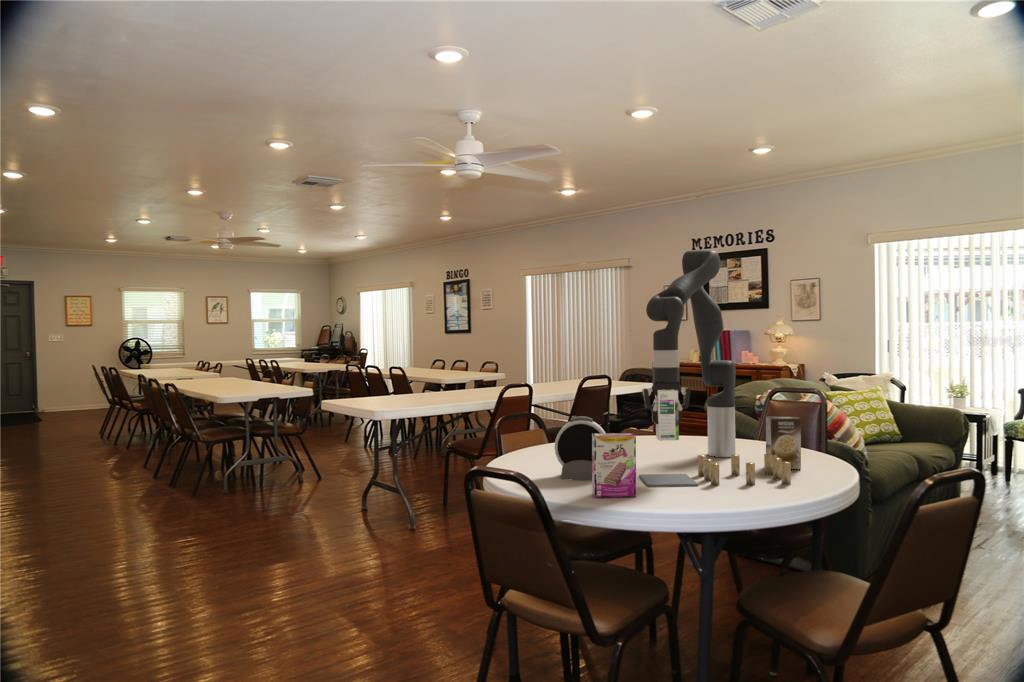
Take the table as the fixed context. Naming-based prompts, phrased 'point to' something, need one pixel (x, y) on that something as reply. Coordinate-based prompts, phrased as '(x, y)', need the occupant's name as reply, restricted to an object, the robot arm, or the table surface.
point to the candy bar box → (613, 465)
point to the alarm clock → (576, 447)
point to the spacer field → (770, 467)
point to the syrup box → (667, 415)
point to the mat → (668, 480)
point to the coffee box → (784, 439)
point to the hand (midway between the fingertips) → (666, 423)
